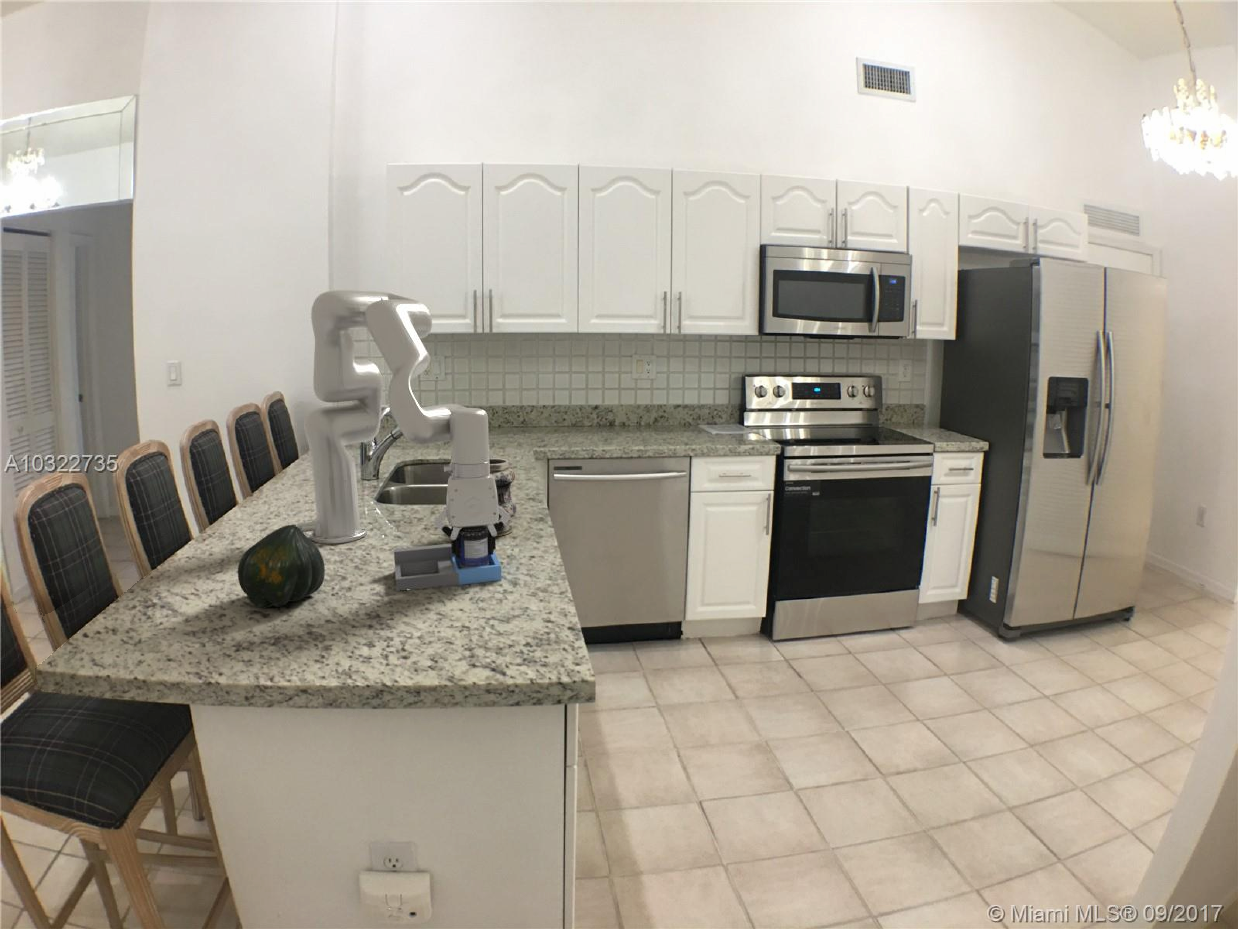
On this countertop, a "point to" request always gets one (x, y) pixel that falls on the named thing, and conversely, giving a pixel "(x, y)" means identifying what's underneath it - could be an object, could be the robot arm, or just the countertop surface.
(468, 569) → the organizer tray
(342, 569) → the countertop surface
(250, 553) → the squash
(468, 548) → the pill bottle
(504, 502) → the apothecary jar
